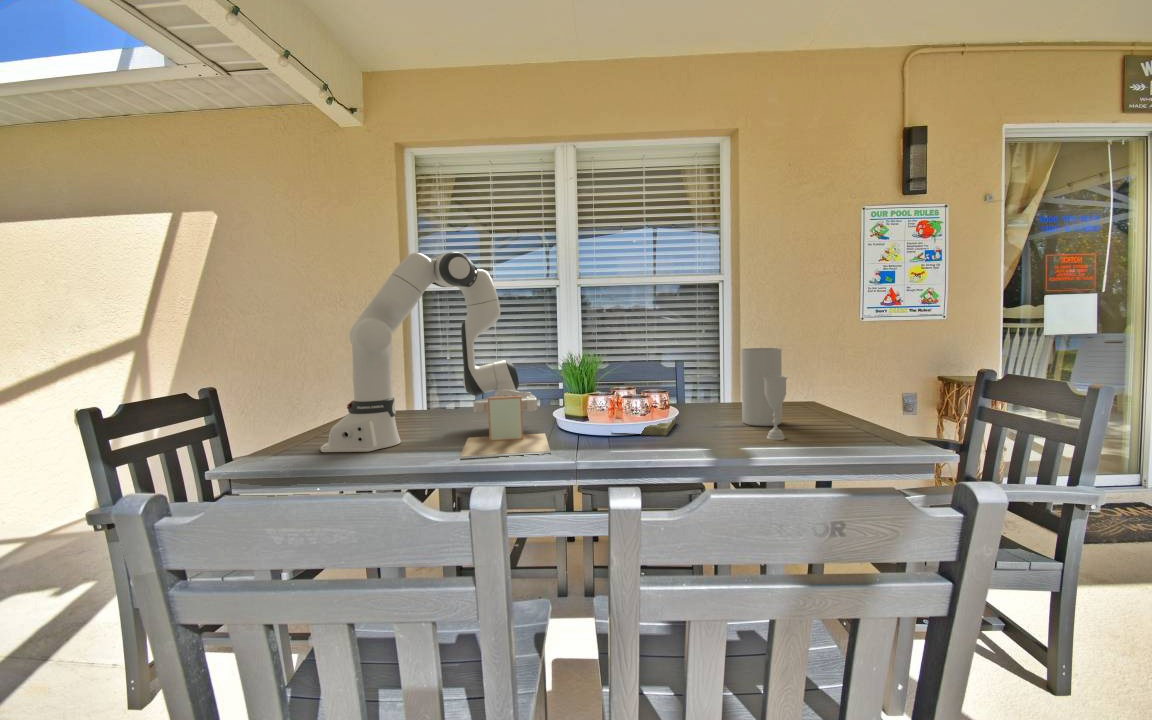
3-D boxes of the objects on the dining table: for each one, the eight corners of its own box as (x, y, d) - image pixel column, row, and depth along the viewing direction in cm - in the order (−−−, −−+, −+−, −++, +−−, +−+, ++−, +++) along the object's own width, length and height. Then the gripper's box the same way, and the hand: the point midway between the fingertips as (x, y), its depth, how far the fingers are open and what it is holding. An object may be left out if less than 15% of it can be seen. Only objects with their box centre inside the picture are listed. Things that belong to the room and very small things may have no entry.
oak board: (460, 460, 134) (459, 456, 134) (468, 440, 158) (468, 437, 158) (550, 454, 137) (550, 451, 137) (545, 436, 160) (545, 433, 160)
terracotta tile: (489, 441, 151) (487, 398, 150) (490, 439, 154) (488, 397, 153) (523, 439, 152) (521, 396, 151) (523, 437, 155) (521, 395, 154)
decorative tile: (676, 424, 175) (675, 414, 175) (667, 437, 156) (666, 425, 156) (623, 423, 181) (623, 413, 181) (608, 434, 162) (608, 424, 162)
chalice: (761, 435, 152) (760, 375, 151) (785, 435, 150) (785, 375, 149) (765, 440, 145) (764, 378, 144) (790, 441, 143) (790, 377, 142)
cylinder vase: (738, 420, 177) (737, 348, 175) (775, 419, 176) (775, 347, 174) (747, 427, 165) (746, 350, 163) (787, 426, 163) (786, 349, 162)
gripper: (474, 394, 168) (470, 399, 154) (535, 391, 171) (537, 396, 157) (474, 413, 169) (471, 420, 155) (536, 410, 171) (538, 416, 157)
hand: (505, 408), depth 156 cm, fingers closed
